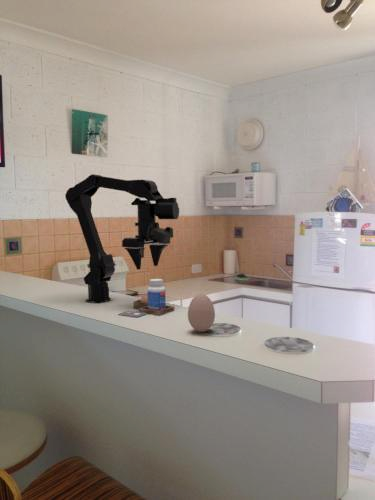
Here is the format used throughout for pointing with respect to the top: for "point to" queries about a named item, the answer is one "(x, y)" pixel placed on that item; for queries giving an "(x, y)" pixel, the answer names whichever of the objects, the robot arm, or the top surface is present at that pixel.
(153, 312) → the walnut socket
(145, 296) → the terracotta ball
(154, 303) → the pill bottle
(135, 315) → the slate card
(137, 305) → the walnut frame
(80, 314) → the top surface
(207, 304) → the egg
